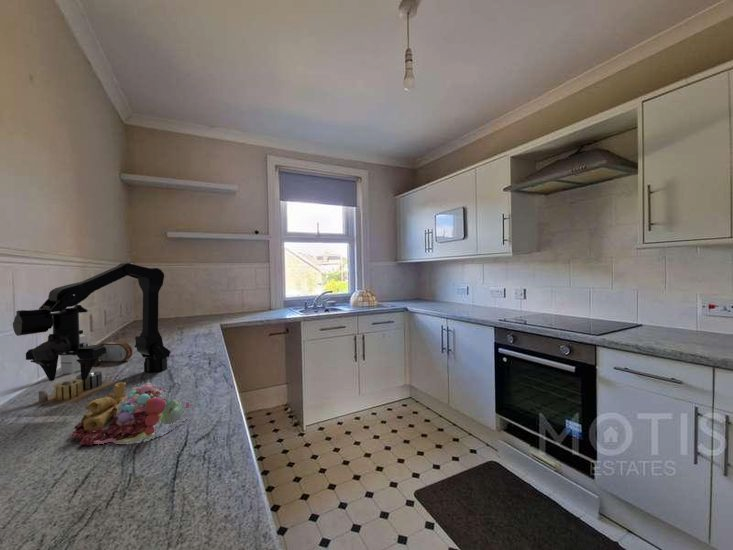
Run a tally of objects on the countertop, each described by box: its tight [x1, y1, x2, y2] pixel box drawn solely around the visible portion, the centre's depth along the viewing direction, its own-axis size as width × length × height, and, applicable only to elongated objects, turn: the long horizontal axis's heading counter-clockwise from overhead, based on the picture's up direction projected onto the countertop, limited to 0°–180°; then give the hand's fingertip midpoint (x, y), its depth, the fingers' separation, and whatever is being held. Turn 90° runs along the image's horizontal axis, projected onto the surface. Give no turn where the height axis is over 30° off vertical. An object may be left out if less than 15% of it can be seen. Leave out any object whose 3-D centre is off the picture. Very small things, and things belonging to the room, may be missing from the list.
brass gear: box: [53, 379, 83, 401], centre depth 94 cm, size 6×6×4 cm
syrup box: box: [59, 333, 89, 376], centre depth 117 cm, size 6×6×14 cm
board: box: [33, 379, 118, 405], centre depth 98 cm, size 12×16×6 cm
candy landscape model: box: [70, 381, 190, 446], centre depth 81 cm, size 25×24×9 cm
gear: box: [75, 370, 103, 390], centre depth 101 cm, size 6×6×4 cm
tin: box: [98, 340, 133, 363], centre depth 133 cm, size 15×3×8 cm, turn 85°
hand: (68, 380), depth 94 cm, fingers open, 9 cm apart
